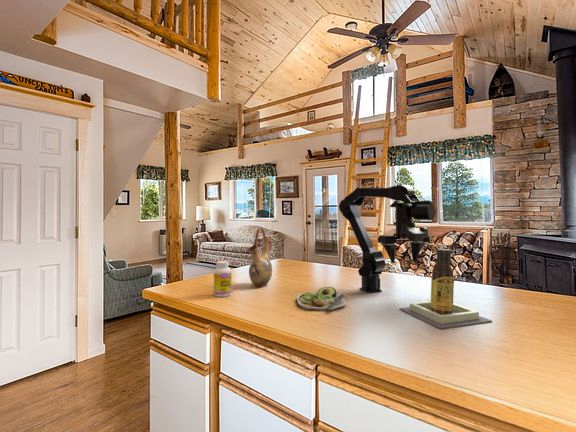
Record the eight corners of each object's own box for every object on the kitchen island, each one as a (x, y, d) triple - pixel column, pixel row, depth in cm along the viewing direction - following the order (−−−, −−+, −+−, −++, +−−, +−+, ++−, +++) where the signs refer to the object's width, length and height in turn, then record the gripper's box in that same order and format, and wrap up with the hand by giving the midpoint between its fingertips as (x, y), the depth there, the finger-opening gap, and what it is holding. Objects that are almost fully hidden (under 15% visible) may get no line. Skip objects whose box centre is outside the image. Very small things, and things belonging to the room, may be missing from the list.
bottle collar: (441, 324, 89) (441, 316, 89) (409, 309, 102) (409, 303, 102) (478, 318, 93) (478, 312, 93) (444, 305, 106) (444, 299, 106)
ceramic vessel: (261, 280, 147) (261, 226, 146) (279, 282, 143) (278, 226, 142) (241, 288, 132) (240, 228, 131) (259, 291, 128) (259, 229, 127)
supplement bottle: (219, 298, 118) (218, 263, 118) (210, 295, 123) (210, 261, 123) (235, 295, 123) (234, 261, 122) (226, 291, 128) (225, 259, 127)
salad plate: (355, 314, 101) (355, 299, 101) (298, 315, 100) (298, 300, 100) (342, 297, 120) (342, 284, 120) (295, 298, 119) (295, 285, 119)
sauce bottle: (437, 317, 94) (437, 250, 94) (426, 310, 101) (426, 248, 100) (458, 316, 95) (458, 250, 94) (446, 310, 101) (446, 247, 101)
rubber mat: (440, 329, 86) (440, 327, 86) (399, 309, 104) (399, 308, 104) (492, 321, 92) (492, 320, 92) (444, 304, 109) (444, 302, 109)
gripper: (395, 221, 106) (395, 267, 106) (441, 219, 111) (441, 264, 112) (376, 219, 117) (376, 262, 117) (419, 218, 122) (419, 259, 122)
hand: (404, 262), depth 117 cm, fingers open, 9 cm apart
